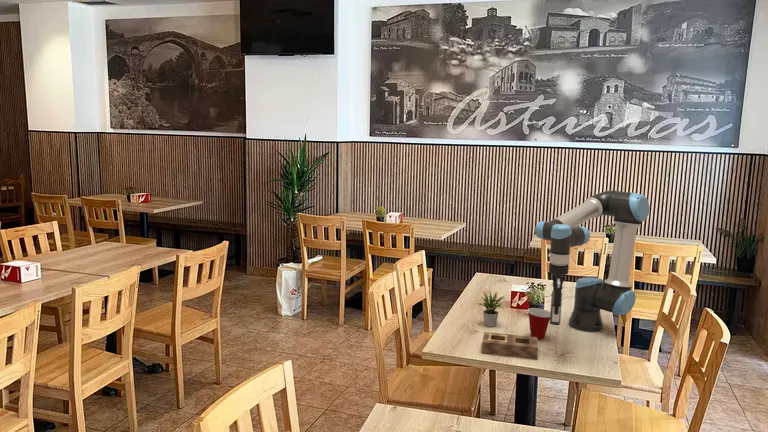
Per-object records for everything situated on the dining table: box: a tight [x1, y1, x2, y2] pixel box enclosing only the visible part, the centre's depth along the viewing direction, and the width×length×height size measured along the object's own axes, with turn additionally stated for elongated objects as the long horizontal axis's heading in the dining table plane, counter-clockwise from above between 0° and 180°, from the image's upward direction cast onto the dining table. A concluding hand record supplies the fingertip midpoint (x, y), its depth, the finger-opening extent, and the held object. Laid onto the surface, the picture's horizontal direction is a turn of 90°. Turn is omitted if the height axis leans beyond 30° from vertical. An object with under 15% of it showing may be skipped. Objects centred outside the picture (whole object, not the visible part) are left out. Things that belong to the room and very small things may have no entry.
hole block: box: [481, 331, 539, 360], centre depth 249 cm, size 22×12×5 cm, turn 77°
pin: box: [549, 290, 563, 326], centre depth 242 cm, size 4×4×13 cm
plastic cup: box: [527, 307, 551, 341], centre depth 265 cm, size 11×11×12 cm
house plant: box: [477, 291, 508, 328], centre depth 278 cm, size 14×14×16 cm
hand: (555, 319), depth 243 cm, fingers closed on pin, 4 cm apart
